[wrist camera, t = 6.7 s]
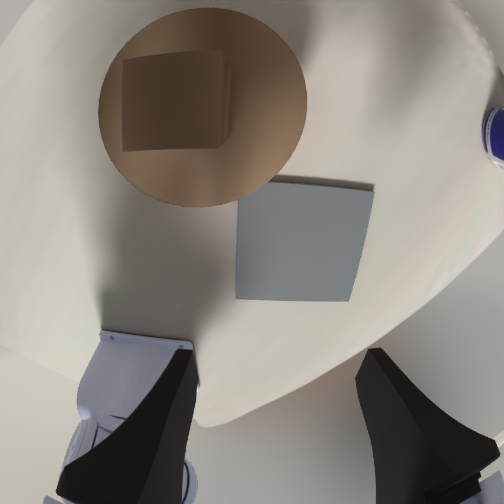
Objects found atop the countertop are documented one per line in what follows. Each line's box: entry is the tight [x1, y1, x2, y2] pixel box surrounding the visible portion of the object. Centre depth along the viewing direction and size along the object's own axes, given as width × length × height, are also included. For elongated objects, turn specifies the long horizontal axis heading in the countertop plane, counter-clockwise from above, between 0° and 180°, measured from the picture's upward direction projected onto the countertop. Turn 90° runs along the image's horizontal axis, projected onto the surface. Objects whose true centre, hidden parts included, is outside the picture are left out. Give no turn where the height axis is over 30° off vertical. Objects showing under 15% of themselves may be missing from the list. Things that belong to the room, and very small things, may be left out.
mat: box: [236, 181, 374, 301], centre depth 20 cm, size 9×9×1 cm
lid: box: [98, 8, 307, 207], centre depth 9 cm, size 9×9×5 cm
